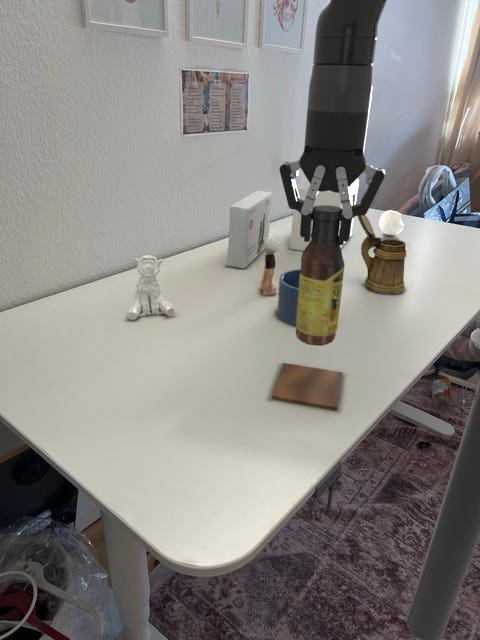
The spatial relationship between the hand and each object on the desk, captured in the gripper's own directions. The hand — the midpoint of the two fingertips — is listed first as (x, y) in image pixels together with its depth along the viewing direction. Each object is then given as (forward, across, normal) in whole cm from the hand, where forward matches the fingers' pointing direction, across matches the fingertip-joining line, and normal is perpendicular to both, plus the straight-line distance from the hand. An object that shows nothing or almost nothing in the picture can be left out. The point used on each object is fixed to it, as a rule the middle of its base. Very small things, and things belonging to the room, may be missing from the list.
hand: (324, 241), depth 66 cm
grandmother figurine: (+25, -14, +35) cm, 45 cm away
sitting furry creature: (+25, -36, +18) cm, 47 cm away
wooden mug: (+25, +10, +47) cm, 54 cm away
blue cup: (+24, -4, +26) cm, 36 cm away
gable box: (+25, -6, +77) cm, 81 cm away
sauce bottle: (+15, 0, 0) cm, 15 cm away
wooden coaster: (+24, 0, 0) cm, 24 cm away
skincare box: (+25, -24, +58) cm, 67 cm away
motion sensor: (+25, +14, +92) cm, 96 cm away
